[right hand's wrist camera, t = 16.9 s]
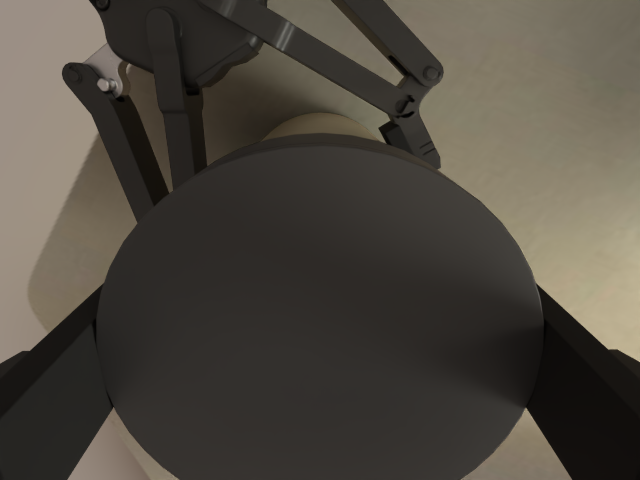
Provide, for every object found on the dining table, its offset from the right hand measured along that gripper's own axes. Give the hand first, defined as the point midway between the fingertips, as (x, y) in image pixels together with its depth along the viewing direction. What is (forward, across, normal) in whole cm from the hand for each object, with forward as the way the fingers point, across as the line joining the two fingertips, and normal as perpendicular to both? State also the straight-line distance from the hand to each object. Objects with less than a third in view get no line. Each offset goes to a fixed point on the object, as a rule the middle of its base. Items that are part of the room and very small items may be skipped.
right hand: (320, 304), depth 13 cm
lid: (-3, 0, 0) cm, 3 cm away
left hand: (+10, -2, +4) cm, 11 cm away
